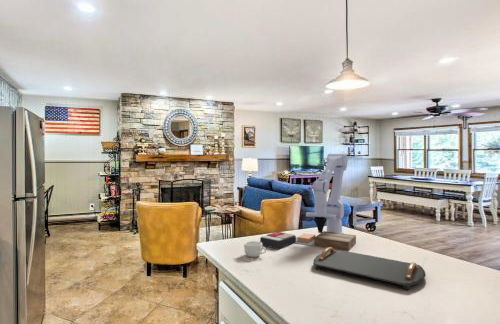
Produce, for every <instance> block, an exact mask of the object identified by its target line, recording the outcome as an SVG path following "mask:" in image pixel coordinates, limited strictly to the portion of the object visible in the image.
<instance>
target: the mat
mask: <svg viewBox="0 0 500 324" xmlns="http://www.w3.org/2000/svg"><path fill="white" fill-rule="evenodd" d="M301 235H302V234H301ZM301 235H299V236H301ZM299 236H296V242H294V243H293V244H297V245H302V246H303V245H305V246H310V247H313V246H314V240H313V241H311V242H310V243H307V242H300V241H298V237H299Z"/></svg>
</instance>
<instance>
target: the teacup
mask: <svg viewBox="0 0 500 324" xmlns="http://www.w3.org/2000/svg"><path fill="white" fill-rule="evenodd" d="M243 247H244V254H245V255H246V256H247V257H249V258H258V257H259V256H261V255H262V254H265V253H266V251H267V248H266V246H263V245H262V243H261V242H260V241H258V240H257V241H256V240H248V241H244V244H243ZM263 249H264V252H263Z"/></svg>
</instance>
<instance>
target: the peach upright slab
mask: <svg viewBox="0 0 500 324" xmlns="http://www.w3.org/2000/svg"><path fill="white" fill-rule="evenodd" d="M297 237H298V241H300V242H307V243H310V242H311V241H313V240H314V237H316V234H313V233H306V232H305V233H302V234H301V236H300V235H299V236H297Z"/></svg>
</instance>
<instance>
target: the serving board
mask: <svg viewBox="0 0 500 324" xmlns="http://www.w3.org/2000/svg"><path fill="white" fill-rule="evenodd" d="M312 264H313V265H314V269H315V270H318V271H319V270H321V269H322V268H325V269H329V270H334V271H338V272H344V273H348V274H351V275H355V276H359V277H365V278H370V279H373V280H377V281H383V282H386V283H387V282H388V283H391V284H396V285H400V286H402V289H403V290H404V291H410V290H411V286H413V285H417V284H419V283H420V282H422V281H424V279H425V278H426V271H425V269H424V268H423V267H422V266H421V265H420V264H417V263H416V262H414V261H413V262H406V261H400V260H395V259H389V258H385V257H380V256H374V255H368V254H364V253H363V254H362V253H358V252H353V251H345V250H339V249H333V248H332V247H328V248H326V247H325V248H324V249H323V250H322V251H321V253H319V254H318V255H317V256H316V257H314V259H313V263H312Z"/></svg>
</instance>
